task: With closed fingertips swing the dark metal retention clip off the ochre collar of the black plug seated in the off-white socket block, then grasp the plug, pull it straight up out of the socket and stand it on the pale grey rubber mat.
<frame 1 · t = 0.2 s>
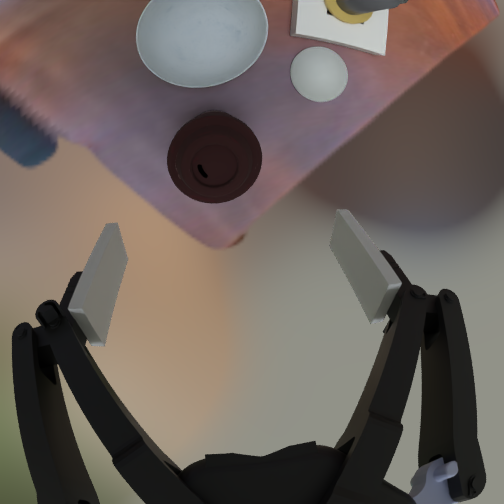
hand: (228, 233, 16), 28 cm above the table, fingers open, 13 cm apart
chinaware: (203, 36, 29), on the table
coffee cup: (213, 133, 38), on the table
plug: (338, 6, 27), resting in socket block
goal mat: (319, 74, 34), on the table
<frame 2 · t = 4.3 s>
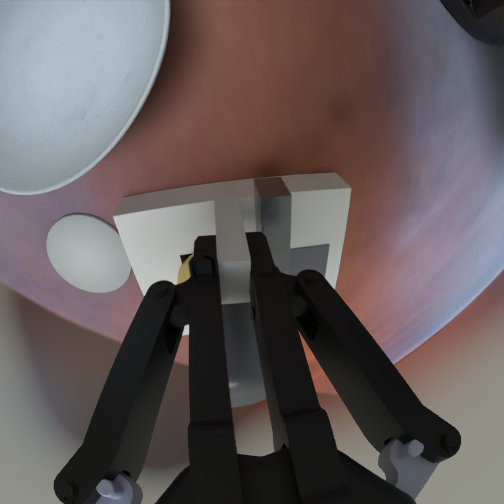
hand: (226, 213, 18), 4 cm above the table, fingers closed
chinaware: (83, 54, 13), on the table
socket block: (237, 253, 25), on the table
clip: (272, 294, 20), point 6 cm above the table, hinge at 0.1°, touching gripper
plug: (220, 255, 25), resting in socket block
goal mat: (87, 255, 23), on the table
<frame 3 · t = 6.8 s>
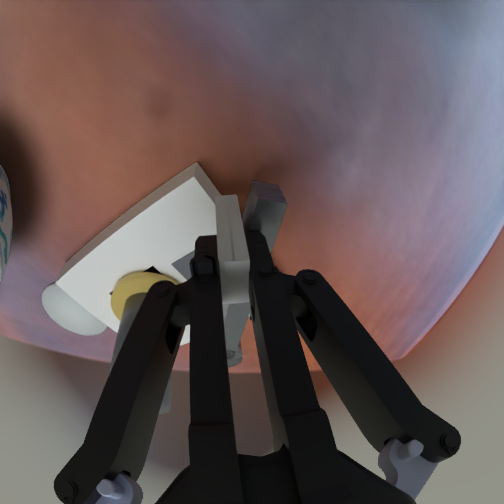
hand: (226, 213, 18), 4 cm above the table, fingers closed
socket block: (167, 271, 25), on the table
clip: (237, 296, 20), point 6 cm above the table, hinge at 43.4°, touching gripper
plug: (156, 277, 26), resting in socket block
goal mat: (74, 309, 27), on the table
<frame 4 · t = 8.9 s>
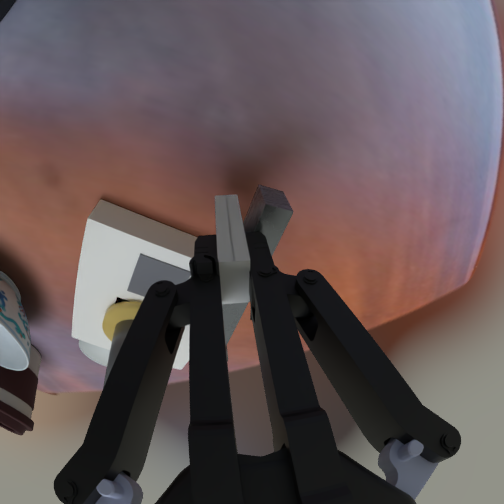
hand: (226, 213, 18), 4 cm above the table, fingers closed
chinaware: (2, 286, 24), on the table
socket block: (146, 292, 27), on the table
clip: (230, 298, 20), point 6 cm above the table, hinge at 79.1°, touching gripper
coffee cup: (24, 347, 32), on the table
plug: (143, 301, 28), resting in socket block
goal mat: (109, 350, 33), on the table
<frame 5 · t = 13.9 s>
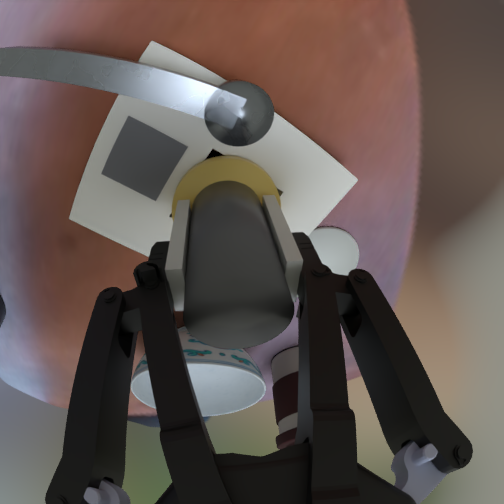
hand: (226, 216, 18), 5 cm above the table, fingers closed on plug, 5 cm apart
chinaware: (196, 339, 33), on the table
socket block: (207, 177, 21), on the table
clip: (114, 72, 10), point 6 cm above the table, hinge at 79.1°
coffee cup: (294, 356, 39), on the table
plug: (223, 186, 21), resting in socket block, touching gripper
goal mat: (317, 264, 28), on the table
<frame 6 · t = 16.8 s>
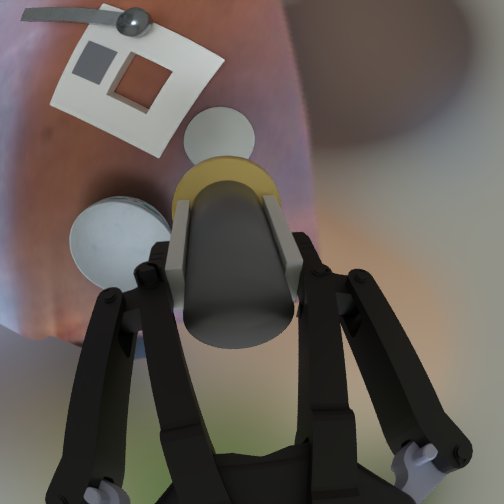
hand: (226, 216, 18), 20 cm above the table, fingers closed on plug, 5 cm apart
chinaware: (132, 222, 39), on the table
socket block: (134, 76, 26), on the table
clip: (81, 15, 16), point 6 cm above the table, hinge at 79.1°
plug: (223, 186, 21), point 15 cm above the table, touching gripper
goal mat: (219, 140, 33), on the table
when the fingers open (6 cm above the table, at t = 19.7 s): plug stays where it is, resting on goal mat.
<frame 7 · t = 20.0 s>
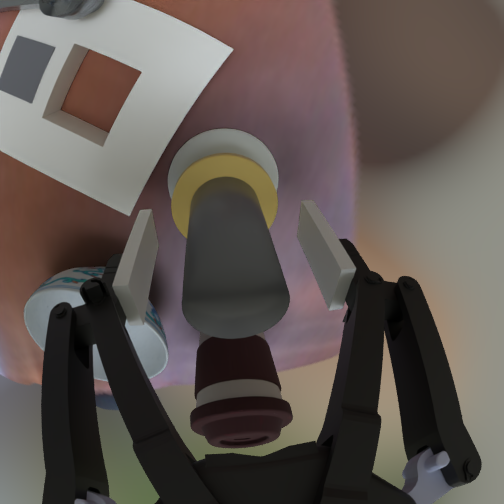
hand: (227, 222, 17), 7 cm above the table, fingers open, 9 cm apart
chinaware: (108, 287, 28), on the table
socket block: (87, 83, 15), on the table
clip: (0, 0, 5), point 6 cm above the table, hinge at 79.1°
coffee cup: (229, 322, 34), on the table
plug: (222, 183, 22), resting on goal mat
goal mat: (223, 181, 22), on the table
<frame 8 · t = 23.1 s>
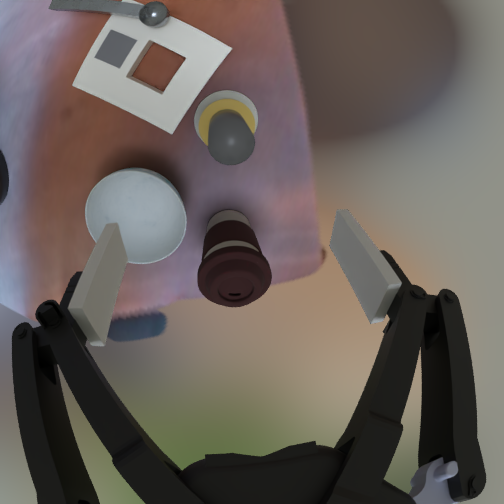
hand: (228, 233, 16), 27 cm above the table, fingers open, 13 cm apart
chinaware: (144, 196, 42), on the table
socket block: (150, 62, 29), on the table
clip: (106, 7, 19), point 6 cm above the table, hinge at 79.1°
coffee cup: (228, 226, 48), on the table
plug: (225, 120, 36), resting on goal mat
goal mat: (226, 120, 36), on the table
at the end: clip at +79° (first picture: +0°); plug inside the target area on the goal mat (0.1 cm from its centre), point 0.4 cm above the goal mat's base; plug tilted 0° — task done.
